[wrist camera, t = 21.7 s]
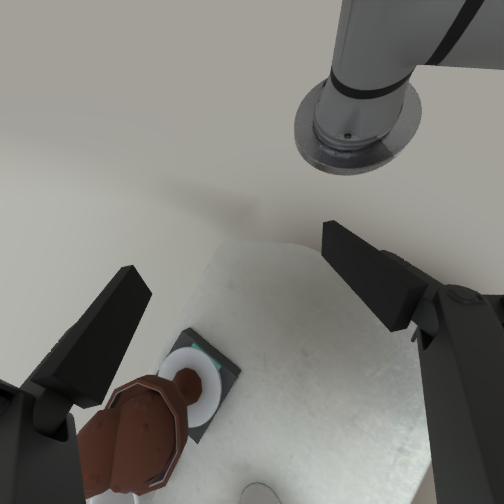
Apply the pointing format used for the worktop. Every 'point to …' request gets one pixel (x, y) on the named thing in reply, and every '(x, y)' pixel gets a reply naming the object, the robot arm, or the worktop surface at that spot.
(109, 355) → the robot arm
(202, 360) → the scale
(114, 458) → the ice cream bowl
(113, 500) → the cup
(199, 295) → the worktop surface
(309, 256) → the worktop surface
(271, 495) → the coffee cup
